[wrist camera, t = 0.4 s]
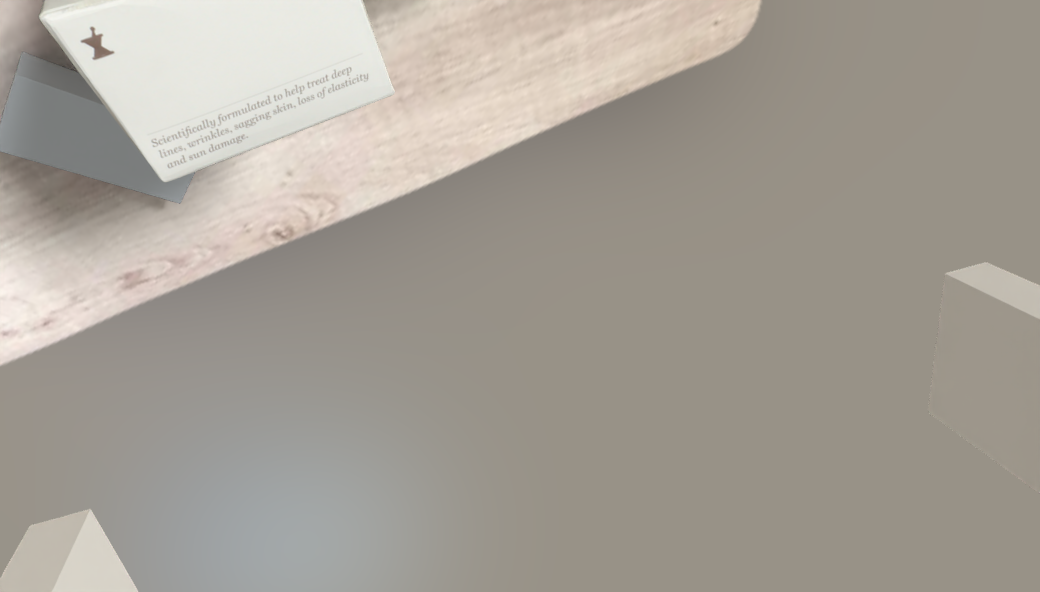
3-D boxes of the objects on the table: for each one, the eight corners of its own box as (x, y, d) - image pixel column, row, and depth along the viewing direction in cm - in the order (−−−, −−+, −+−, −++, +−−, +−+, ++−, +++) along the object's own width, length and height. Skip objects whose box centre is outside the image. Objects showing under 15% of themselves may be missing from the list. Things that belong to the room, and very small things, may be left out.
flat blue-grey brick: (-1, 120, 33) (-8, 149, 31) (22, 48, 31) (16, 74, 30) (178, 176, 38) (180, 203, 36) (206, 116, 36) (209, 142, 35)
